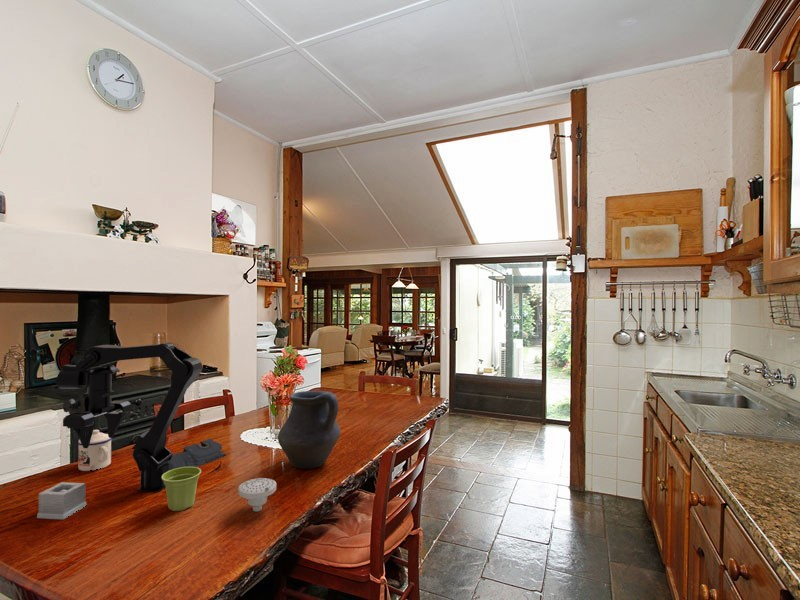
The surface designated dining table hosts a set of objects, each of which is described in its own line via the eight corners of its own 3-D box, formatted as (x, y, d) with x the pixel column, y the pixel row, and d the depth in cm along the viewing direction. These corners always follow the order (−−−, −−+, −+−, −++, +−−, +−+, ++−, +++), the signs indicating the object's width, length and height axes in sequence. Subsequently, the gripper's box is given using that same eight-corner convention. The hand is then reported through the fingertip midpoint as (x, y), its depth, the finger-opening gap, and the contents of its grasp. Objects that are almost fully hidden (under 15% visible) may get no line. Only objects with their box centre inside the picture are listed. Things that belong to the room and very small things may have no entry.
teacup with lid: (72, 467, 136) (72, 431, 136) (103, 458, 144) (103, 424, 144) (89, 476, 130) (90, 438, 130) (121, 466, 138) (122, 430, 138)
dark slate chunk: (144, 468, 138) (144, 453, 138) (203, 448, 157) (203, 435, 158) (174, 478, 131) (175, 462, 131) (232, 455, 151) (232, 442, 151)
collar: (85, 502, 111) (85, 483, 111) (63, 514, 105) (63, 494, 105) (61, 501, 112) (61, 482, 112) (38, 513, 105) (38, 493, 105)
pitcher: (308, 448, 157) (309, 381, 157) (355, 460, 146) (356, 388, 146) (264, 467, 139) (265, 391, 139) (314, 482, 128) (315, 399, 128)
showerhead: (252, 493, 104) (231, 482, 110) (252, 523, 104) (231, 510, 110) (285, 481, 111) (263, 471, 118) (284, 509, 111) (263, 497, 118)
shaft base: (86, 505, 112) (86, 484, 112) (63, 519, 105) (63, 496, 105) (61, 504, 112) (61, 483, 112) (37, 518, 105) (37, 495, 105)
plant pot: (156, 517, 106) (157, 482, 106) (165, 499, 115) (166, 468, 116) (197, 512, 109) (197, 478, 109) (203, 496, 118) (203, 464, 118)
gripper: (98, 381, 132) (97, 431, 132) (44, 395, 114) (43, 453, 114) (132, 382, 132) (131, 433, 132) (83, 396, 113) (82, 454, 113)
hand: (98, 442), depth 122 cm, fingers open, 9 cm apart
